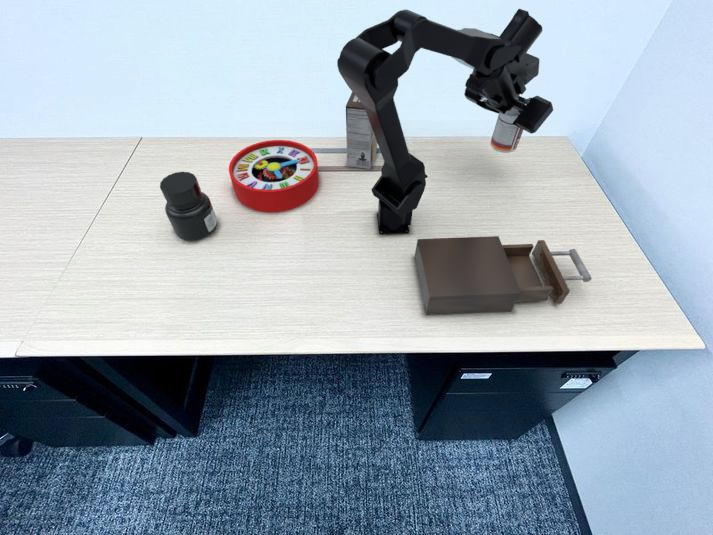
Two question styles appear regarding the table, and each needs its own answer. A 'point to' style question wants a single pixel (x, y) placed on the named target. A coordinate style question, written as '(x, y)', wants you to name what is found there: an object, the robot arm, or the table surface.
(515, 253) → the drawer
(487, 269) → the cabinet
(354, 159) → the coffee box
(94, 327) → the table surface
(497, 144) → the pill bottle
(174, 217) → the ink bottle
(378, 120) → the robot arm
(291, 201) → the toy clock
